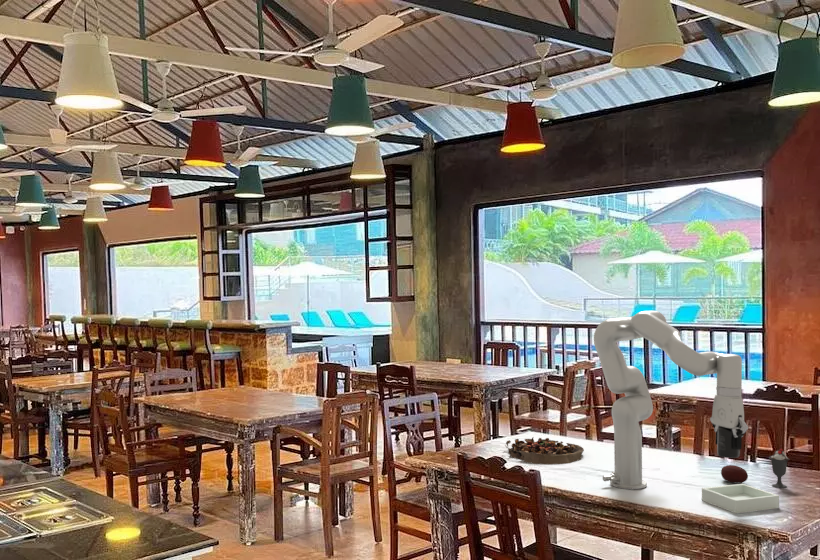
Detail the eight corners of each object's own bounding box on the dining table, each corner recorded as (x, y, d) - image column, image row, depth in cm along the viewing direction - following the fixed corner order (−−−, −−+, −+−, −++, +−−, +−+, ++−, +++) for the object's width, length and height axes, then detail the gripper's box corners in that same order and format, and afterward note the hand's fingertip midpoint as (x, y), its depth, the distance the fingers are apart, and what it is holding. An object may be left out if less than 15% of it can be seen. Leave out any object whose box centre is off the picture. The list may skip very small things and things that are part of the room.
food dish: (505, 448, 353) (505, 430, 353) (580, 451, 348) (580, 433, 349) (503, 463, 318) (503, 444, 319) (587, 467, 314) (587, 447, 314)
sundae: (781, 489, 275) (781, 446, 275) (765, 485, 281) (764, 443, 281) (794, 487, 278) (793, 444, 278) (777, 483, 284) (777, 441, 284)
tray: (736, 513, 248) (736, 500, 248) (701, 500, 263) (701, 488, 263) (779, 508, 253) (779, 495, 253) (743, 495, 268) (743, 483, 268)
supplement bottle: (741, 459, 253) (742, 421, 253) (719, 457, 254) (720, 420, 254) (737, 454, 260) (737, 417, 260) (715, 453, 261) (715, 416, 261)
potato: (728, 478, 292) (728, 461, 292) (753, 484, 283) (752, 467, 283) (715, 481, 288) (715, 464, 288) (740, 487, 279) (740, 469, 279)
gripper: (701, 388, 264) (700, 442, 264) (739, 396, 247) (738, 453, 248) (719, 387, 266) (718, 440, 266) (758, 395, 250) (757, 451, 250)
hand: (728, 446), depth 257 cm, fingers closed on supplement bottle, 6 cm apart
